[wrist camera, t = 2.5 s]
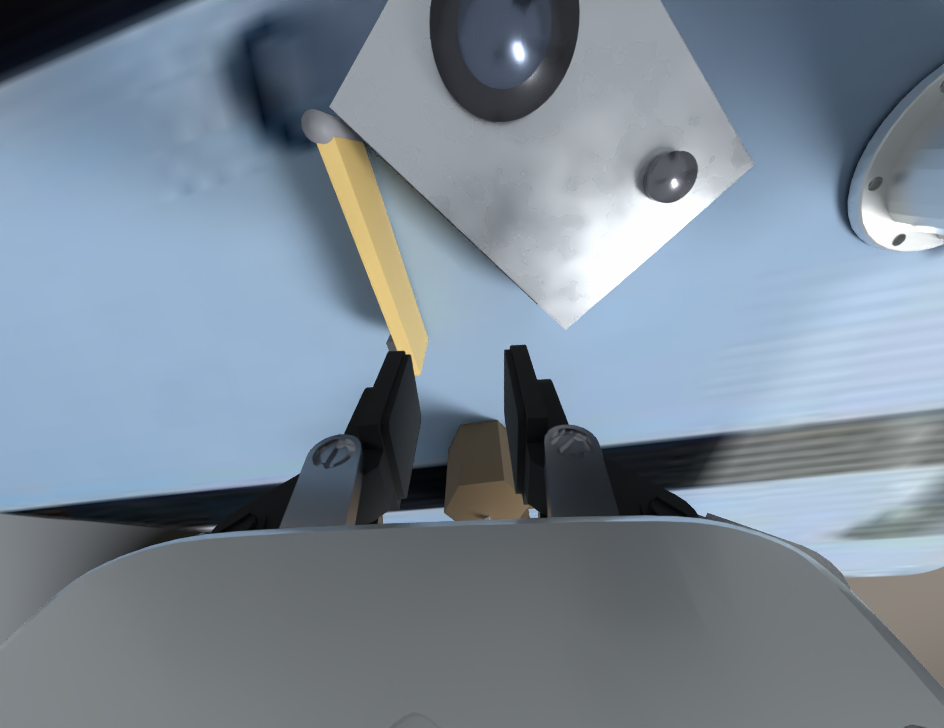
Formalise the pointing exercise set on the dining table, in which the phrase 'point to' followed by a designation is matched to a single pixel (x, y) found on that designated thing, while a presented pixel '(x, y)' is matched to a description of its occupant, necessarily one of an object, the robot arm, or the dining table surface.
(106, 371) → the dining table surface
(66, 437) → the dining table surface
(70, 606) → the robot arm
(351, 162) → the ochre side door
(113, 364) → the dining table surface
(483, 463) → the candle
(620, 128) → the aluminium camera mock-up
